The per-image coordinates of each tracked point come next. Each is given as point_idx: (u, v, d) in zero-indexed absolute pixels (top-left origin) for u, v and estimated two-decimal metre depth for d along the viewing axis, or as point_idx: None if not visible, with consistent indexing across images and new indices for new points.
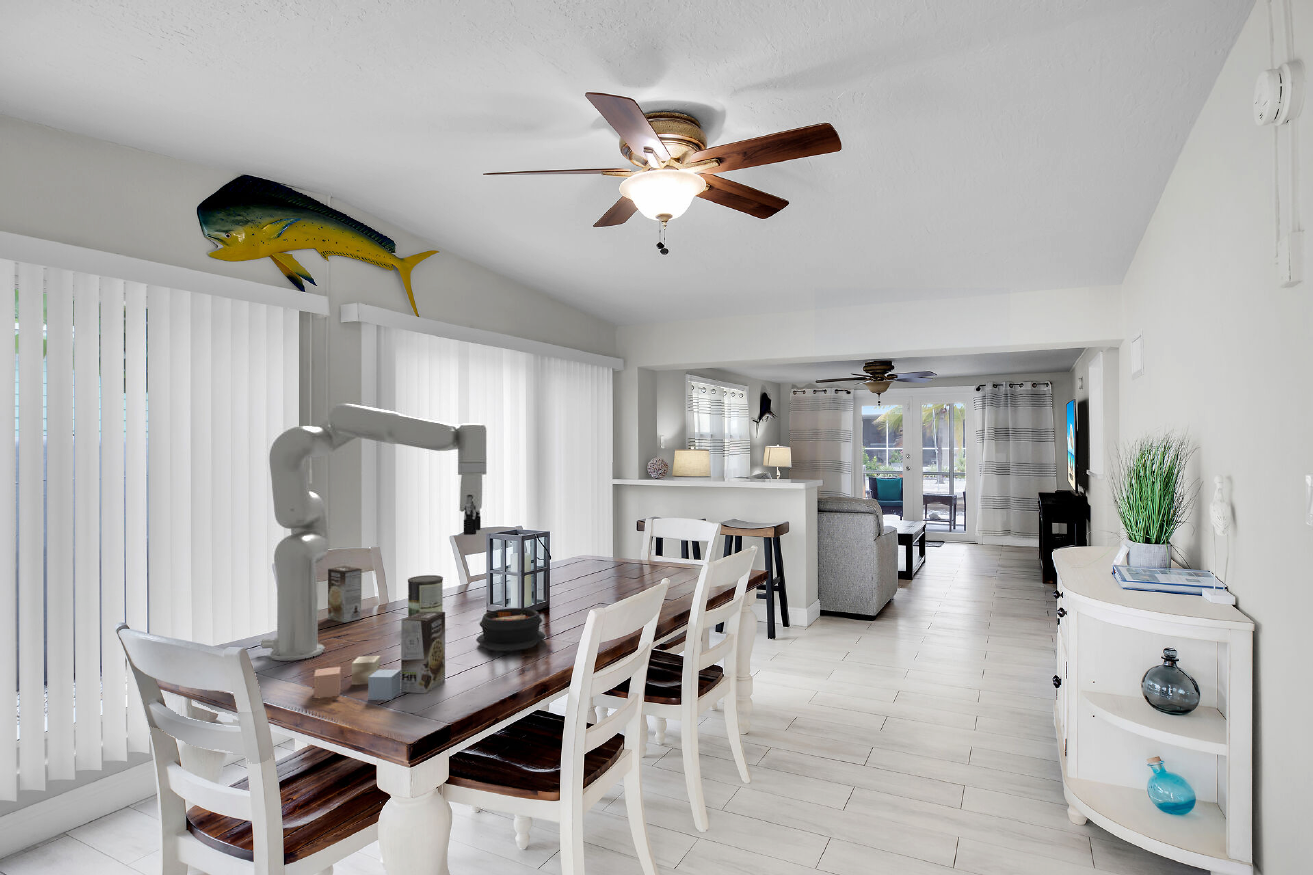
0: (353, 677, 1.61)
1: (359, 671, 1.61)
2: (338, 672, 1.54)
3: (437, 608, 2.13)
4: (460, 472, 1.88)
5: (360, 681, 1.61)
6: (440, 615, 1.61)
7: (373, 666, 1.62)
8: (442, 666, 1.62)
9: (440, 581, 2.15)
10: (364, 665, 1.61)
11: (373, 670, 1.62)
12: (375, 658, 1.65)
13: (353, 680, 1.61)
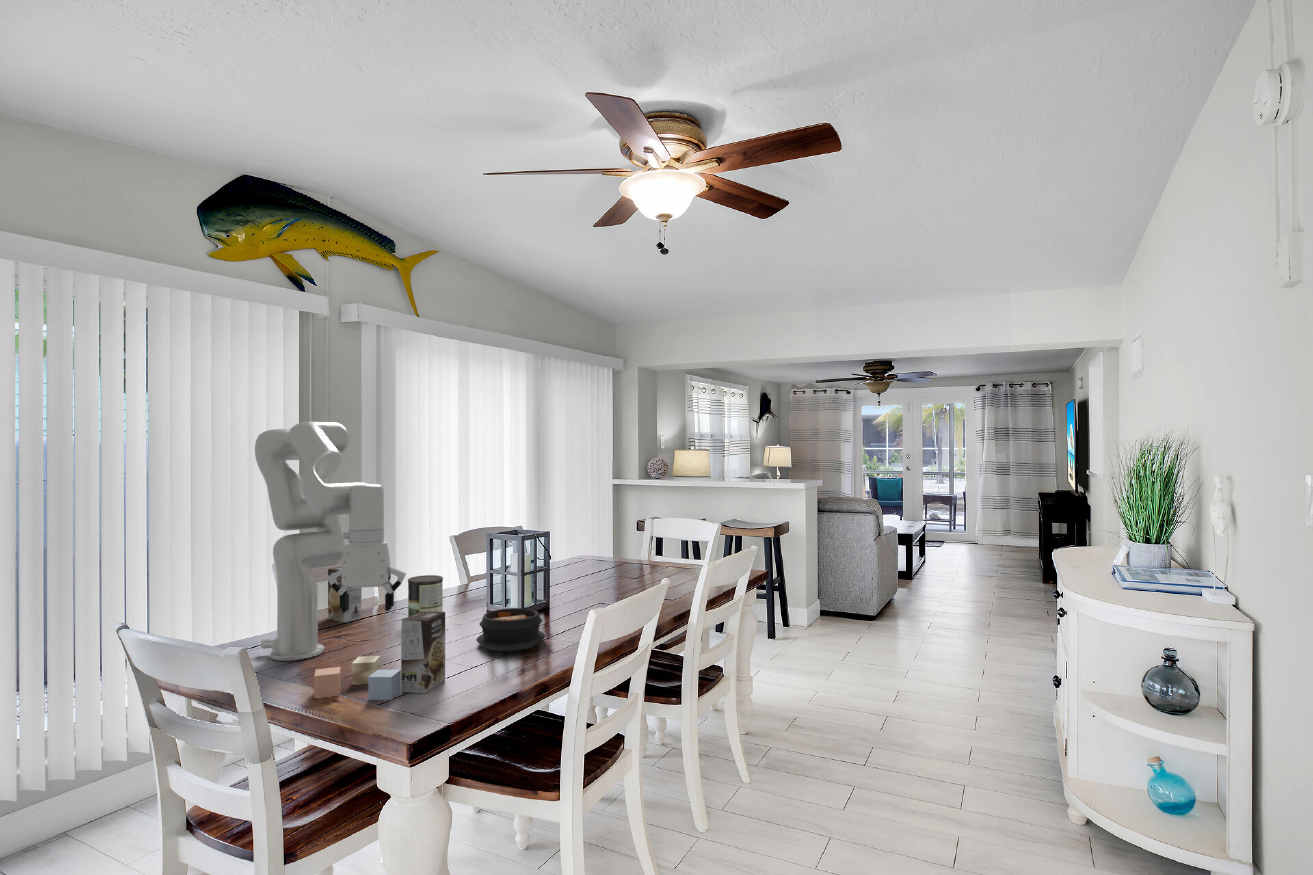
0: (353, 677, 1.61)
1: (359, 671, 1.61)
2: (338, 672, 1.54)
3: (437, 608, 2.13)
4: (373, 542, 1.62)
5: (360, 681, 1.61)
6: (440, 615, 1.61)
7: (373, 666, 1.62)
8: (442, 666, 1.62)
9: (440, 581, 2.15)
10: (364, 665, 1.61)
11: (373, 670, 1.62)
12: (375, 658, 1.65)
13: (353, 680, 1.61)
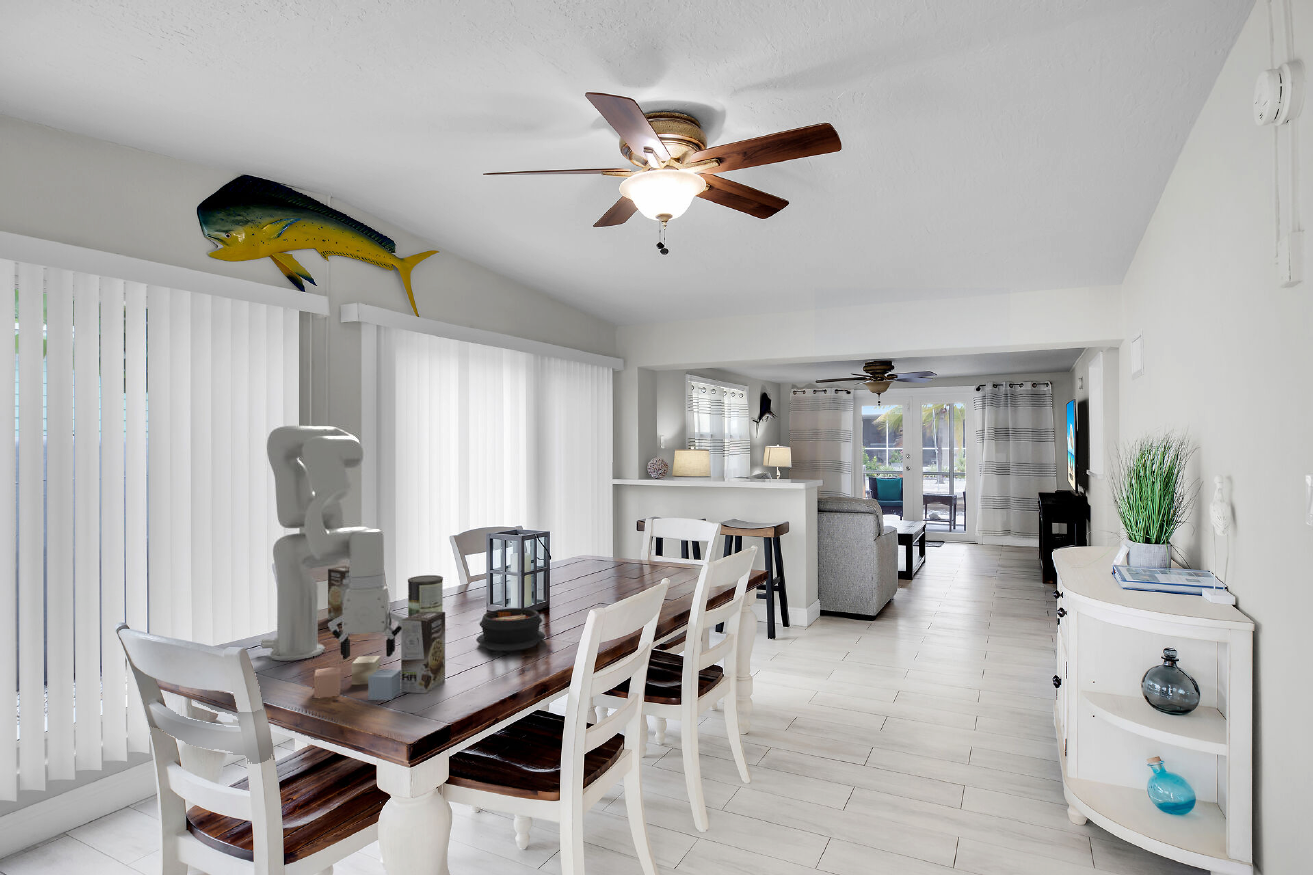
0: (353, 677, 1.61)
1: (359, 671, 1.61)
2: (338, 672, 1.54)
3: (437, 608, 2.13)
4: (373, 588, 1.61)
5: (360, 681, 1.61)
6: (440, 615, 1.61)
7: (373, 666, 1.62)
8: (442, 666, 1.62)
9: (440, 581, 2.15)
10: (365, 665, 1.61)
11: (373, 670, 1.62)
12: (375, 658, 1.65)
13: (353, 680, 1.61)
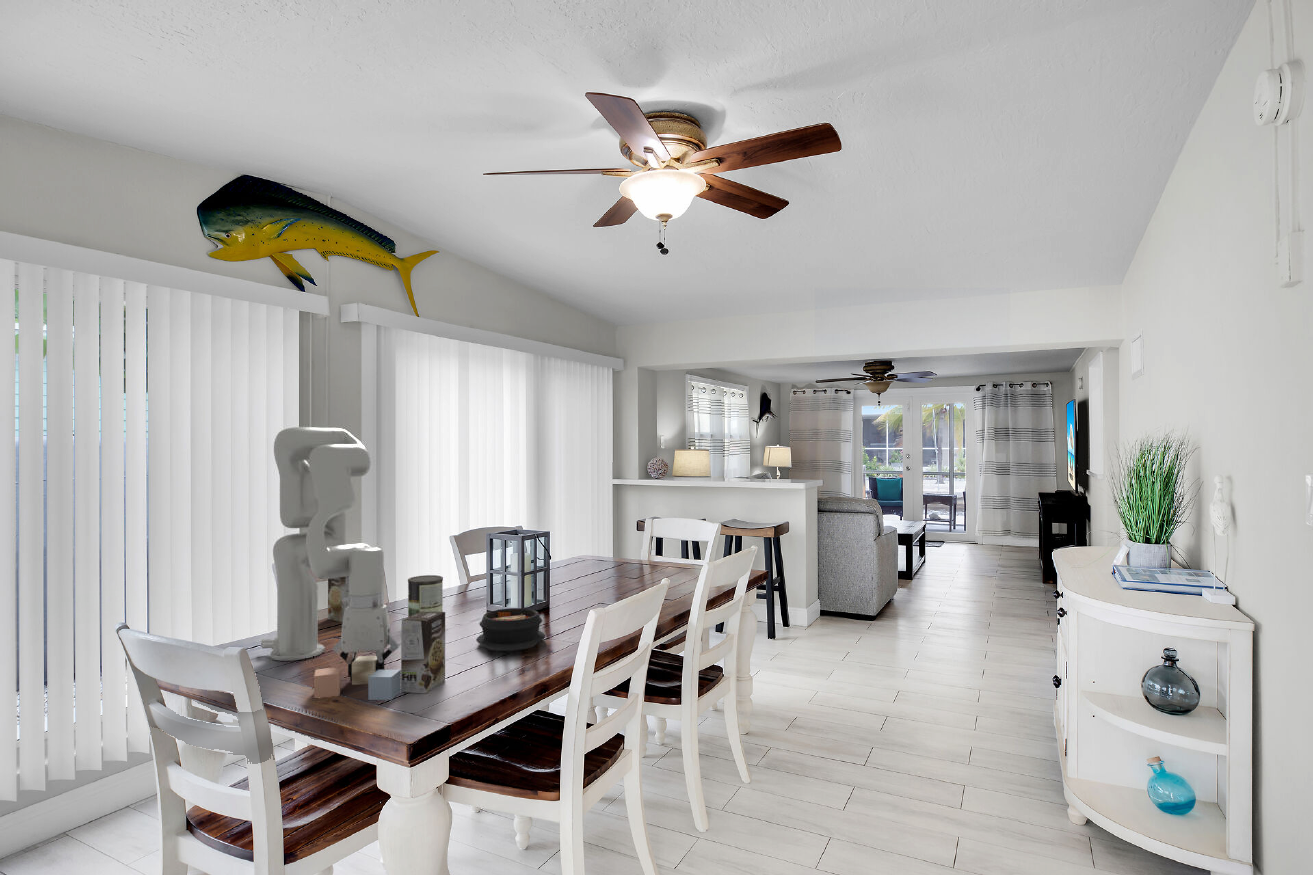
0: (353, 677, 1.61)
1: (359, 671, 1.61)
2: (338, 672, 1.54)
3: (437, 608, 2.13)
4: (373, 607, 1.61)
5: (360, 681, 1.61)
6: (440, 615, 1.61)
7: (373, 666, 1.62)
8: (442, 666, 1.62)
9: (440, 581, 2.15)
10: (364, 664, 1.61)
11: (373, 670, 1.62)
12: (375, 658, 1.64)
13: (353, 680, 1.61)
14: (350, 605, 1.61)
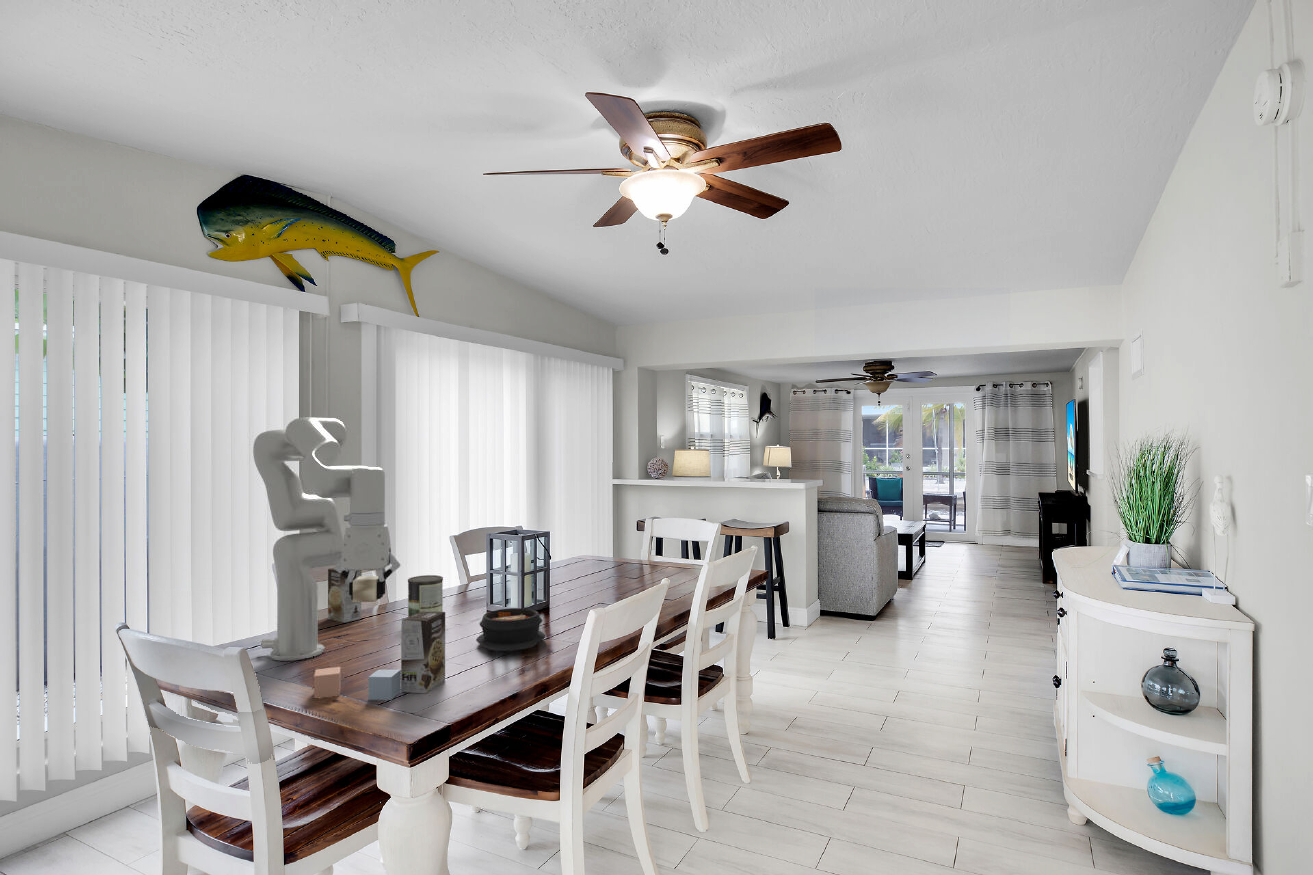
0: (354, 594, 1.61)
1: (360, 589, 1.61)
2: (338, 672, 1.54)
3: (437, 608, 2.13)
4: (374, 525, 1.62)
5: (361, 599, 1.61)
6: (440, 615, 1.61)
7: (374, 584, 1.62)
8: (442, 666, 1.62)
9: (440, 581, 2.15)
10: (365, 582, 1.62)
11: (374, 588, 1.62)
12: (376, 577, 1.65)
13: (354, 597, 1.61)
14: (351, 523, 1.61)
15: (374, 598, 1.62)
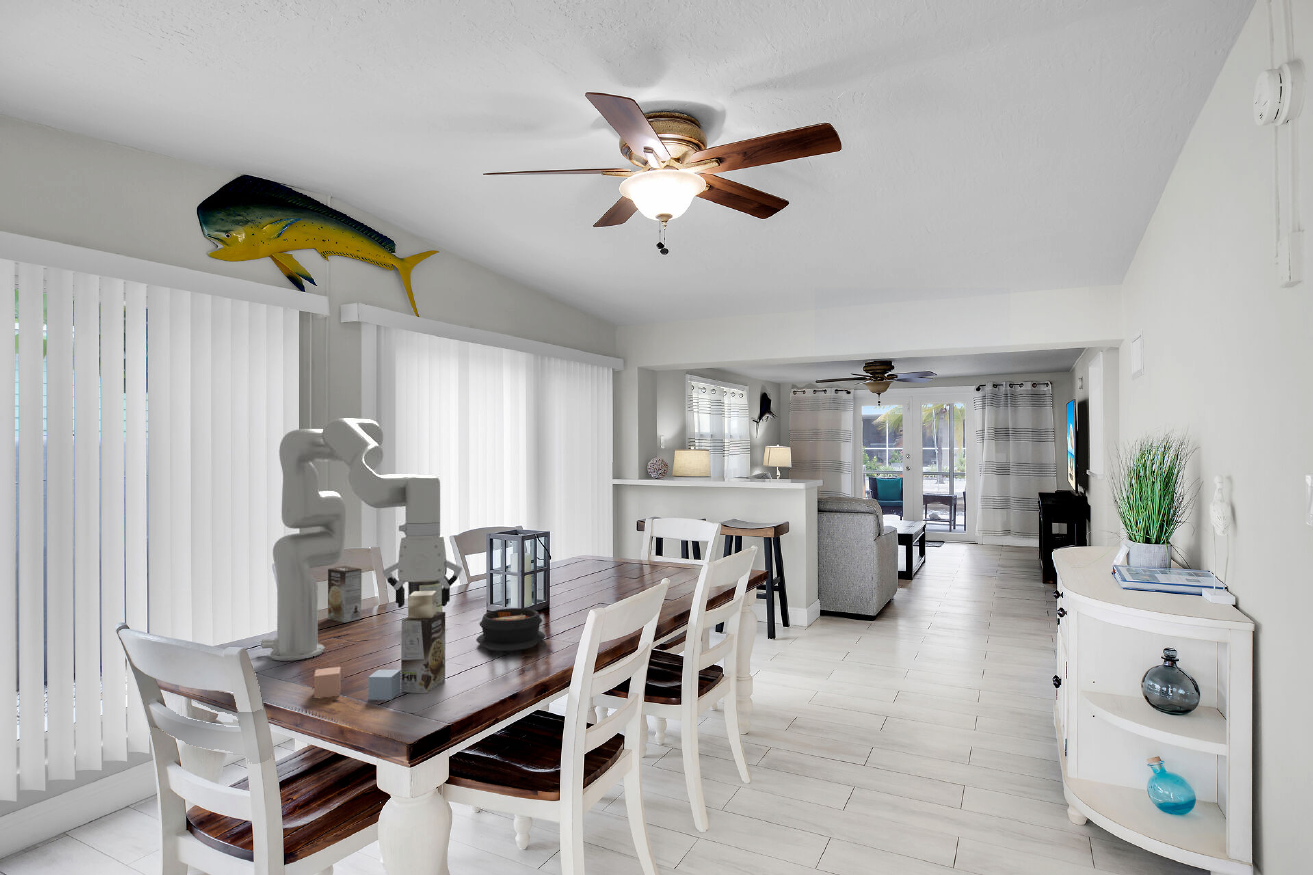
0: (410, 610, 1.57)
1: (416, 604, 1.57)
2: (338, 672, 1.54)
3: (437, 608, 2.13)
4: (430, 535, 1.57)
5: (417, 615, 1.57)
6: (440, 615, 1.61)
7: (430, 599, 1.58)
8: (442, 666, 1.62)
9: None
10: (422, 598, 1.57)
11: (430, 603, 1.58)
12: (431, 592, 1.60)
13: (410, 613, 1.57)
14: (407, 533, 1.57)
15: (430, 614, 1.58)
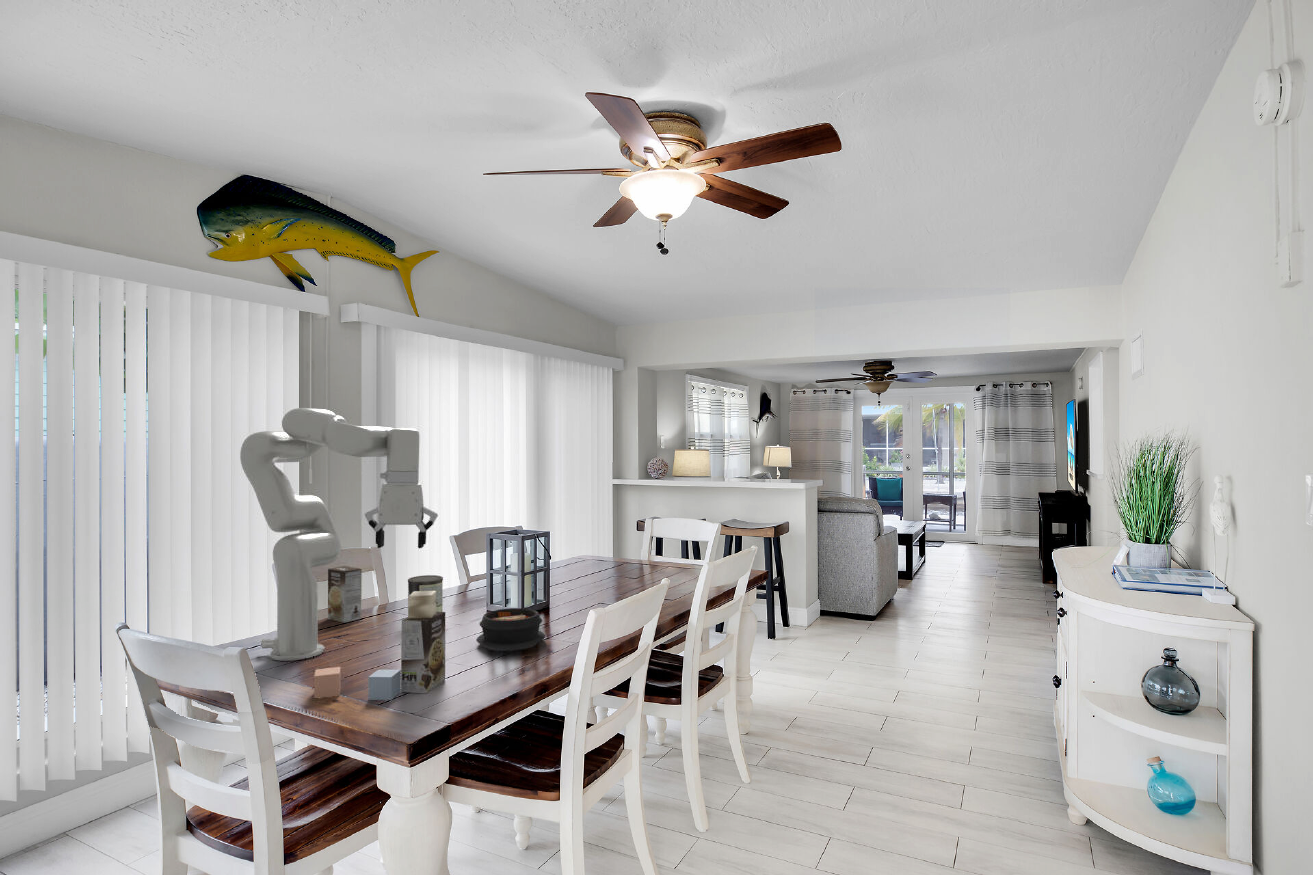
0: (410, 610, 1.57)
1: (416, 604, 1.57)
2: (338, 672, 1.54)
3: (437, 608, 2.13)
4: (409, 482, 1.71)
5: (417, 615, 1.57)
6: (440, 615, 1.61)
7: (430, 599, 1.58)
8: (442, 666, 1.62)
9: (440, 581, 2.15)
10: (422, 598, 1.57)
11: (430, 603, 1.58)
12: (431, 592, 1.60)
13: (410, 613, 1.57)
14: (387, 480, 1.71)
15: (430, 614, 1.58)
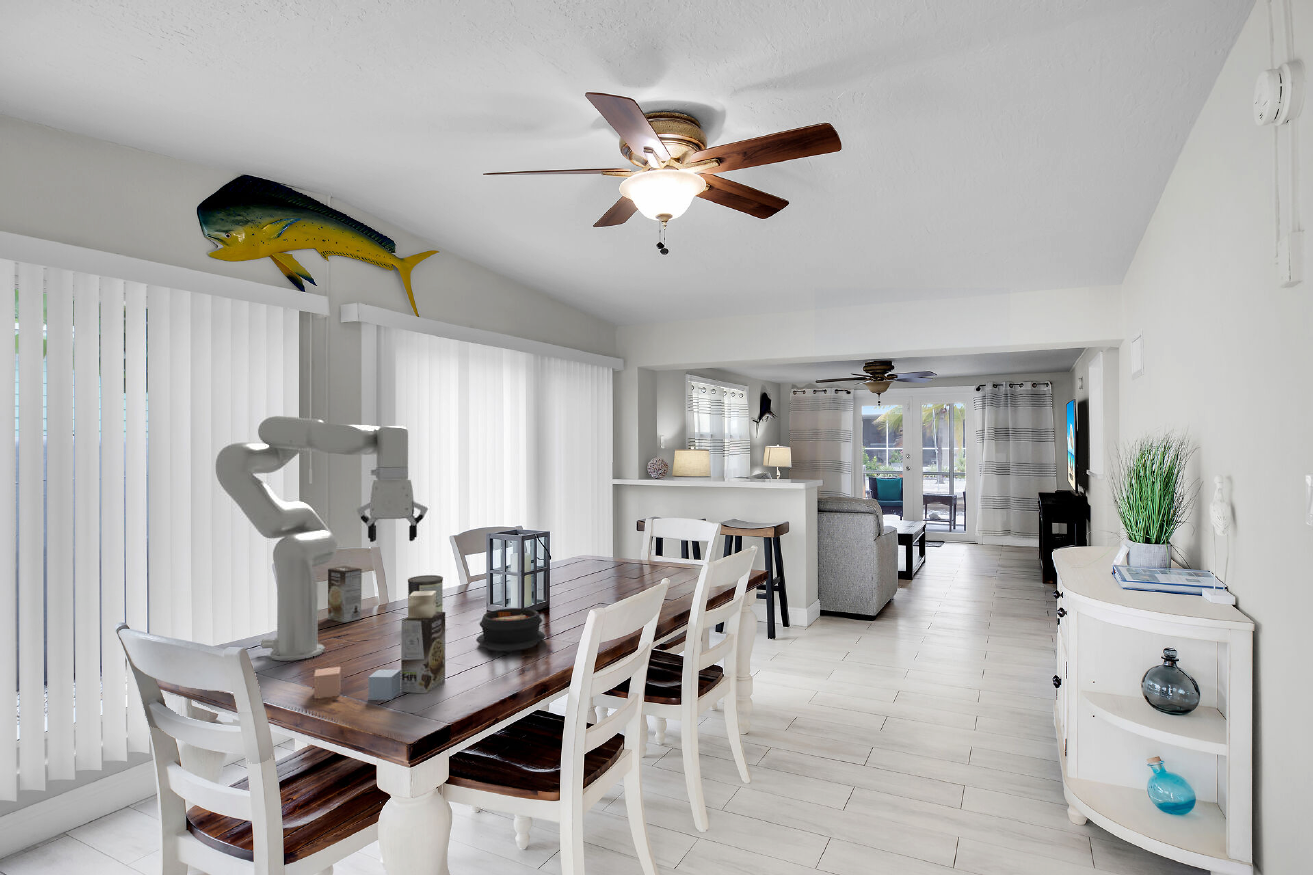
0: (410, 610, 1.57)
1: (416, 604, 1.57)
2: (338, 672, 1.54)
3: (437, 608, 2.13)
4: (399, 478, 1.78)
5: (417, 615, 1.57)
6: (440, 615, 1.61)
7: (430, 599, 1.58)
8: (442, 666, 1.62)
9: (440, 581, 2.15)
10: (422, 598, 1.57)
11: (430, 603, 1.58)
12: (431, 592, 1.60)
13: (410, 613, 1.57)
14: (378, 476, 1.78)
15: (430, 614, 1.57)
